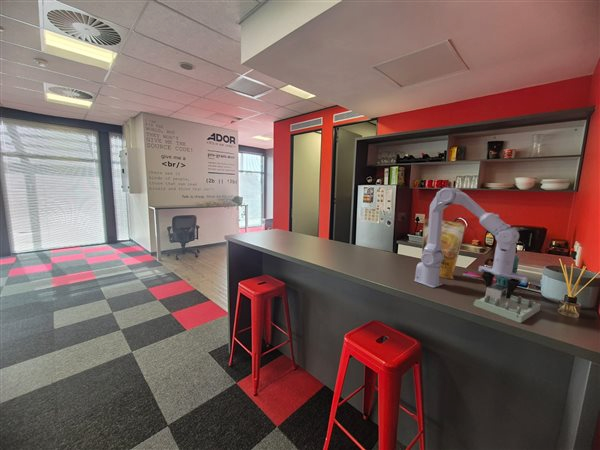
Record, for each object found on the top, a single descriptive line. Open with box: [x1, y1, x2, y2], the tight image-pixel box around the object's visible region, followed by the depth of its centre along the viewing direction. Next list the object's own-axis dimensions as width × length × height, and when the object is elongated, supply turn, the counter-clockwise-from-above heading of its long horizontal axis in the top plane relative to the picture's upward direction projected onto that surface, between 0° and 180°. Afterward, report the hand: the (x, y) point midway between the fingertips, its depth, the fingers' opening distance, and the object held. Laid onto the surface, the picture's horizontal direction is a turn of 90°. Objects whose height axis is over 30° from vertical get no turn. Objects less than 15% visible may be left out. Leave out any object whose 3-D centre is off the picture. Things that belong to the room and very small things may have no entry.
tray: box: [473, 294, 542, 324], centre depth 93 cm, size 14×18×4 cm
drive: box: [484, 283, 510, 306], centre depth 95 cm, size 5×9×6 cm, turn 122°
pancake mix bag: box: [421, 218, 466, 280], centre depth 126 cm, size 7×19×28 cm, turn 38°
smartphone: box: [462, 271, 497, 285], centre depth 125 cm, size 7×1×15 cm
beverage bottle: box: [495, 247, 520, 286], centre depth 107 cm, size 6×7×20 cm
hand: (498, 294), depth 95 cm, fingers open, 6 cm apart
